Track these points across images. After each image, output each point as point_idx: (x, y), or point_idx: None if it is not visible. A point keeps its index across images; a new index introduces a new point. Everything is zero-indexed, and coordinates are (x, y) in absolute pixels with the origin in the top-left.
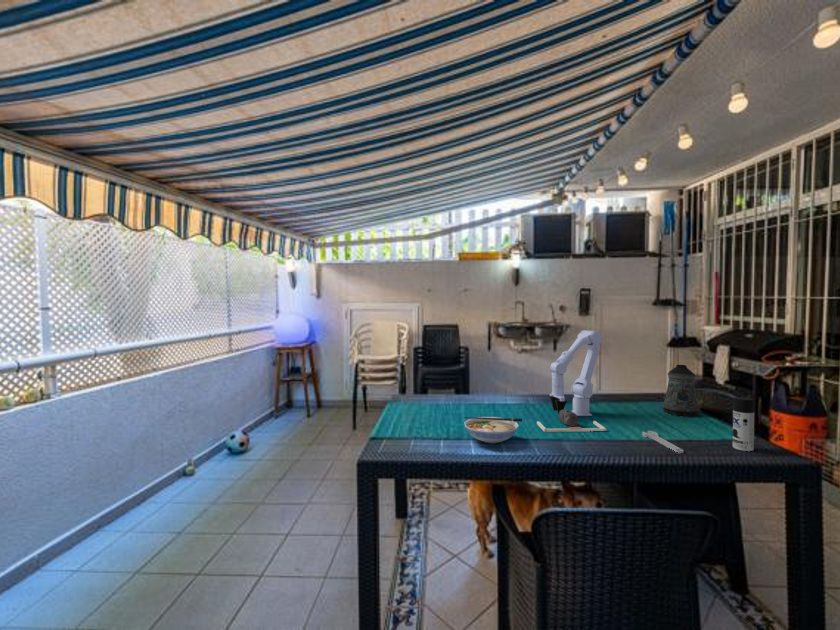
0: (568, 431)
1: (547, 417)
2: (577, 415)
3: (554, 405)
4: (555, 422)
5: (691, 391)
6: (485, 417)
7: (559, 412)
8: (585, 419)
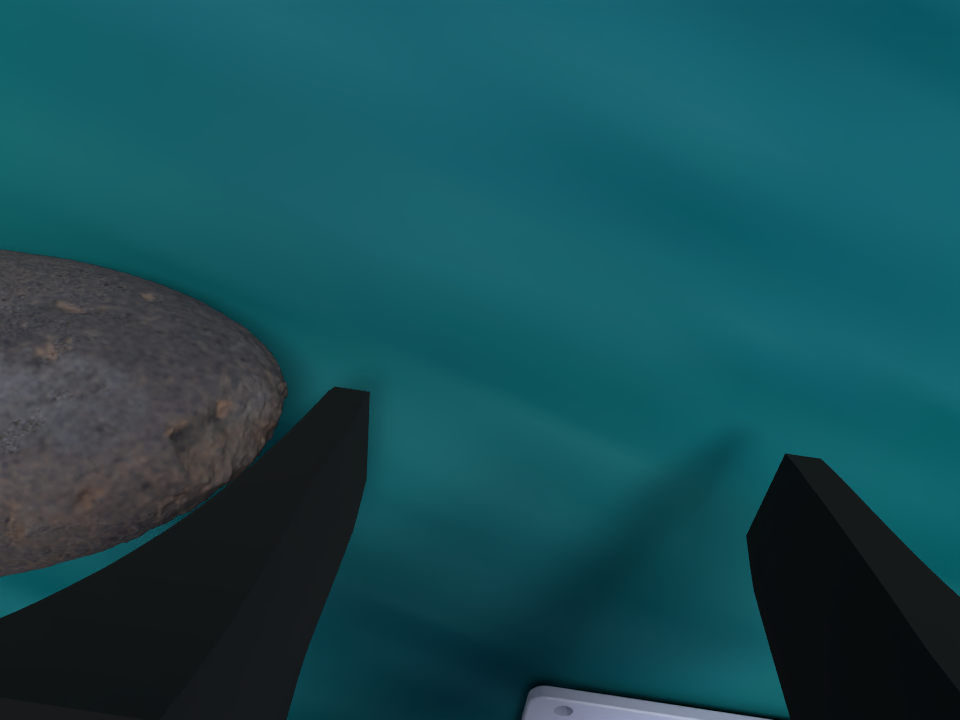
0: None
1: (586, 101)
2: (530, 695)
3: (833, 597)
4: (40, 98)
5: None
6: None
7: (54, 389)
8: (328, 685)
